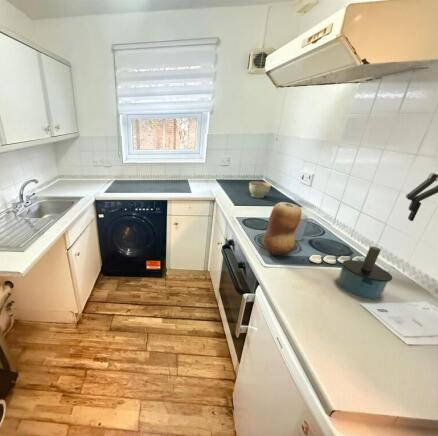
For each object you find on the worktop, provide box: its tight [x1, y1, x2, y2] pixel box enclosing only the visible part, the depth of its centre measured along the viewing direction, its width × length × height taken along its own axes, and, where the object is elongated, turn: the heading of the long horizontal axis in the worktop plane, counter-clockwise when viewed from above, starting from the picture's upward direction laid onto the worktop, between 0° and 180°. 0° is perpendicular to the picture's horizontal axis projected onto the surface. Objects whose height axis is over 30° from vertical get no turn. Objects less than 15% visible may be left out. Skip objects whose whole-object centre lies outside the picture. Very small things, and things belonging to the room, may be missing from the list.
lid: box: [342, 246, 393, 283], centre depth 84 cm, size 14×14×10 cm
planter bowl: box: [248, 181, 272, 199], centre depth 194 cm, size 16×16×11 cm
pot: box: [337, 259, 389, 300], centre depth 88 cm, size 13×18×8 cm
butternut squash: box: [262, 201, 303, 256], centre depth 109 cm, size 14×13×25 cm
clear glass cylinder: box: [294, 212, 310, 241], centre depth 128 cm, size 10×10×12 cm
